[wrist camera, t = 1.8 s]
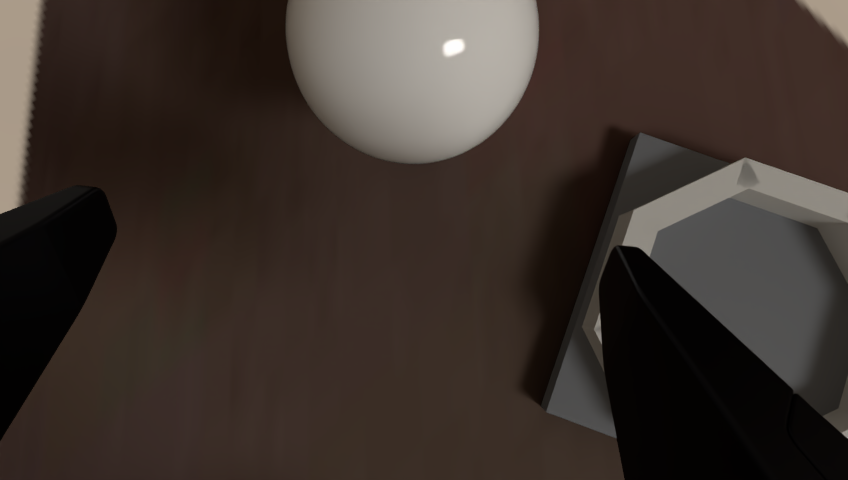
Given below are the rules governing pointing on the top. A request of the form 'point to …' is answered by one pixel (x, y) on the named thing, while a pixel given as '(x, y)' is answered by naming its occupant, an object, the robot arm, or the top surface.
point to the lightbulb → (412, 70)
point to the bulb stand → (723, 271)
